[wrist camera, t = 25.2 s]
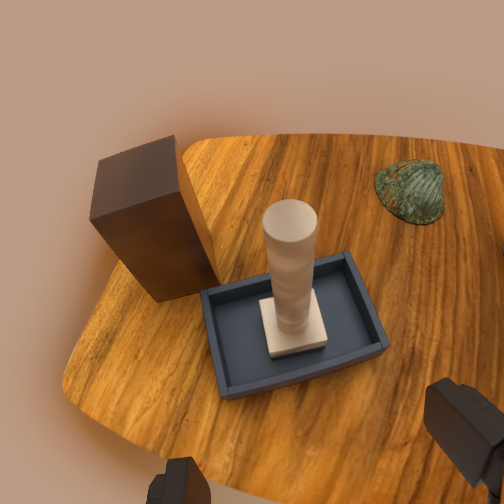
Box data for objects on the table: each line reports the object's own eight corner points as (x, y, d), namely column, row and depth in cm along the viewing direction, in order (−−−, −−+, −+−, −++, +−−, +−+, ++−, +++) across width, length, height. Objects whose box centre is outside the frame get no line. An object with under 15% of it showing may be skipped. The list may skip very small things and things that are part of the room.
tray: (227, 401, 26) (220, 396, 23) (207, 304, 31) (199, 290, 29) (381, 355, 26) (390, 345, 24) (344, 266, 32) (348, 249, 29)
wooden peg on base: (271, 361, 27) (247, 273, 14) (261, 313, 29) (232, 193, 16) (324, 349, 27) (355, 250, 13) (311, 302, 29) (322, 176, 16)
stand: (157, 303, 32) (88, 220, 20) (152, 249, 36) (98, 160, 24) (221, 286, 32) (179, 190, 21) (210, 233, 36) (173, 134, 24)
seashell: (366, 154, 34) (422, 137, 36) (360, 177, 38) (414, 158, 39) (417, 218, 30) (471, 191, 31) (405, 238, 33) (458, 211, 34)
